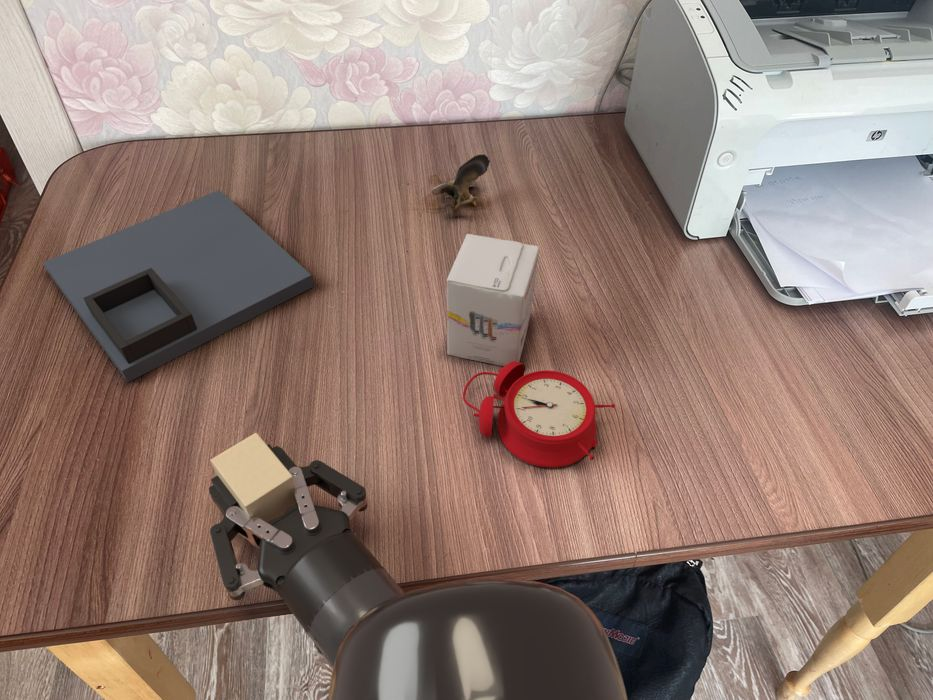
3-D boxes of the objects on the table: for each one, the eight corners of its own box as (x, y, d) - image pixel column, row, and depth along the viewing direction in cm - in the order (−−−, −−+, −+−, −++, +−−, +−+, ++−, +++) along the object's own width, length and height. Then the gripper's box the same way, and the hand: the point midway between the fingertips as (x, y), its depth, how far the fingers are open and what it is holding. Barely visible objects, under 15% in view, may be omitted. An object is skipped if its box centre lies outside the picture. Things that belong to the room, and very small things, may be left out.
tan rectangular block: (265, 557, 64) (245, 507, 58) (232, 512, 67) (209, 459, 61) (307, 527, 66) (292, 476, 60) (273, 485, 69) (256, 431, 63)
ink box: (463, 305, 87) (466, 228, 78) (531, 319, 86) (542, 243, 77) (444, 355, 81) (444, 279, 73) (516, 371, 80) (526, 295, 71)
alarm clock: (594, 468, 67) (455, 394, 69) (571, 496, 72) (442, 426, 74) (624, 391, 74) (497, 325, 75) (601, 421, 79) (482, 358, 80)
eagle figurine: (492, 217, 97) (501, 170, 102) (464, 182, 92) (475, 135, 97) (447, 231, 101) (458, 186, 106) (418, 199, 96) (430, 153, 101)
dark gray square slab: (127, 382, 77) (113, 355, 74) (49, 274, 89) (33, 246, 85) (313, 286, 88) (308, 259, 85) (222, 201, 100) (215, 174, 96)
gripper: (422, 530, 56) (303, 400, 64) (263, 652, 49) (153, 489, 58) (423, 571, 62) (314, 446, 70) (281, 686, 55) (178, 533, 63)
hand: (242, 466), depth 64 cm, fingers closed on tan rectangular block, 4 cm apart
